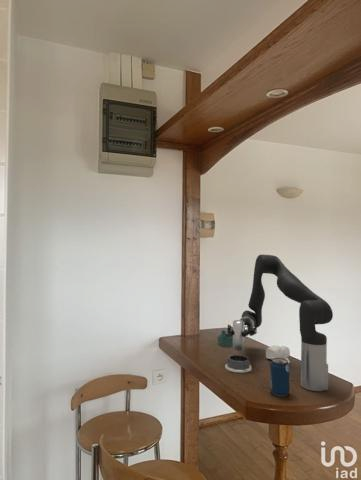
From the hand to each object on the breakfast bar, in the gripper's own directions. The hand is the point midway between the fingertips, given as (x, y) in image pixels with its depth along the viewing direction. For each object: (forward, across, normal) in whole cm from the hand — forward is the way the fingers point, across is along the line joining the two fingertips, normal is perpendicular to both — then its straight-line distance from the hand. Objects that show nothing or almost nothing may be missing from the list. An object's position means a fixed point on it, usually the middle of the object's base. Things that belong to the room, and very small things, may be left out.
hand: (237, 334), depth 153 cm
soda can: (+17, +20, +16) cm, 31 cm away
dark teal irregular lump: (-37, -14, +16) cm, 43 cm away
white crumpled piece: (-19, +16, +16) cm, 29 cm away
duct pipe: (-3, 0, +7) cm, 7 cm away
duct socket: (-2, 0, +16) cm, 16 cm away
